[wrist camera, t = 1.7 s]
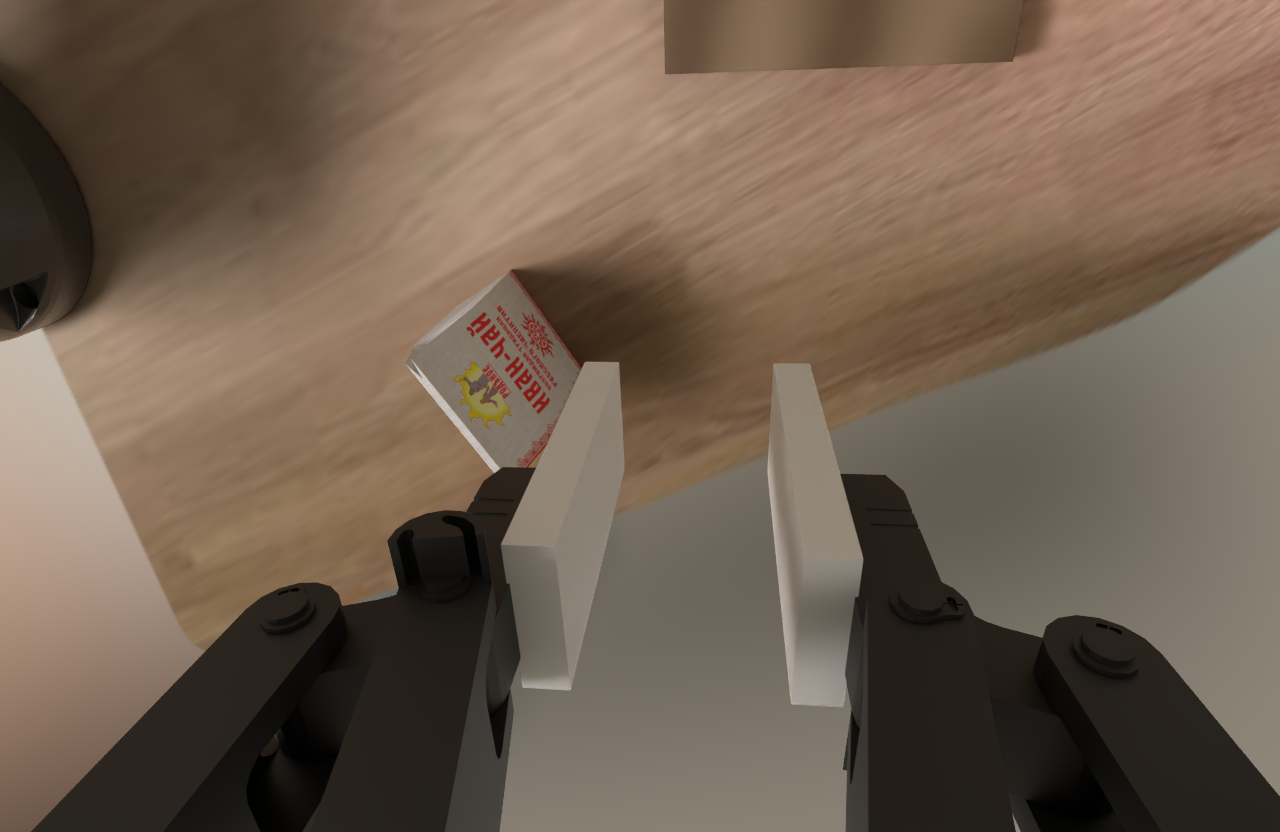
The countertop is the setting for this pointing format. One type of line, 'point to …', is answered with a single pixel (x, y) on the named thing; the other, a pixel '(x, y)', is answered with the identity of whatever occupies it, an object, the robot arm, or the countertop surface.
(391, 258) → the countertop surface
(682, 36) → the floorboard
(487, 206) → the countertop surface
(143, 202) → the countertop surface
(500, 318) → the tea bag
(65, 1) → the countertop surface
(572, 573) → the robot arm
